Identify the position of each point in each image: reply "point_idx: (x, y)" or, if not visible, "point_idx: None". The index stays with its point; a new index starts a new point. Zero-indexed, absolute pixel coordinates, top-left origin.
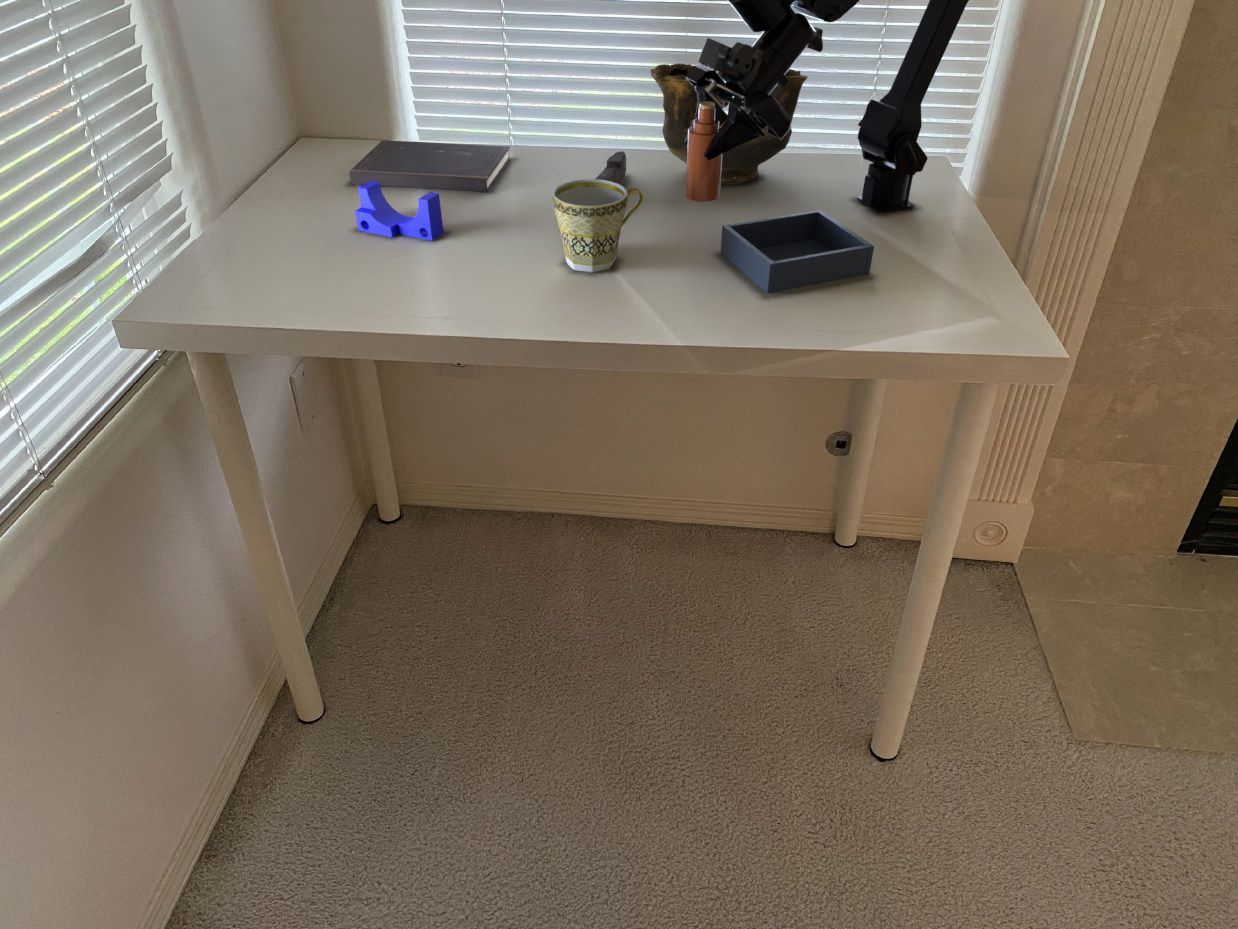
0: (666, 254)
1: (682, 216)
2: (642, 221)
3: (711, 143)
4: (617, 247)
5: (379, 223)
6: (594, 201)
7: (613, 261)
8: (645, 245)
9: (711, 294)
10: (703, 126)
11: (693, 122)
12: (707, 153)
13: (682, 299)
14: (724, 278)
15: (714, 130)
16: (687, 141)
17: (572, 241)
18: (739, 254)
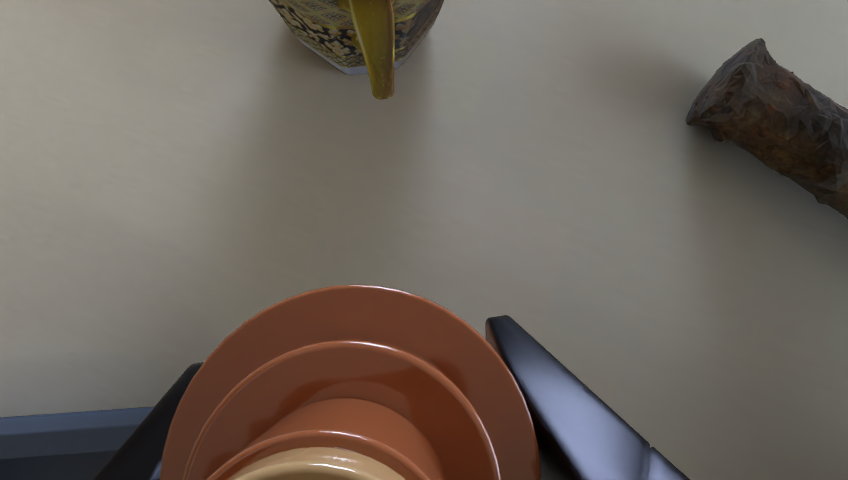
0: (344, 234)
1: (621, 397)
2: (613, 251)
3: (165, 438)
4: (332, 54)
5: None
6: None
7: (321, 55)
8: (429, 196)
9: (31, 262)
10: (218, 406)
11: (613, 432)
12: (179, 383)
13: (38, 170)
14: (115, 344)
15: None
16: (493, 332)
17: None
18: (109, 417)
